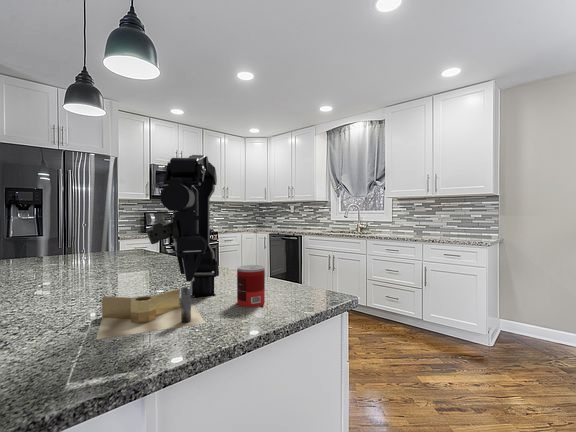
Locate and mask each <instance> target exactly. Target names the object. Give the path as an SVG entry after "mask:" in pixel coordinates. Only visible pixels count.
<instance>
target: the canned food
mask: <svg viewBox="0 0 576 432" xmlns="http://www.w3.org/2000/svg"><path fill="white" fill-rule="evenodd" d="M265 269H266V268H265V266H263V265H257V264H250V265H249V264H248V265H242V266H238V267H237V269H236V286H237V287H236V292H237V293H236V294H237V295H236V298H237V299H236V303H237V305H238V306H239V307H242V308H255V307H256V308H257V307H259V308H263V307H264V306H265V303H266V302H265V299H266V298H265V293H266V292H265V291H266V289H265V287H266V286H265V285H266V283H265V281H266V278H265V277H266V275H265V274H266V273H265V271H266V270H265Z"/></svg>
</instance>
